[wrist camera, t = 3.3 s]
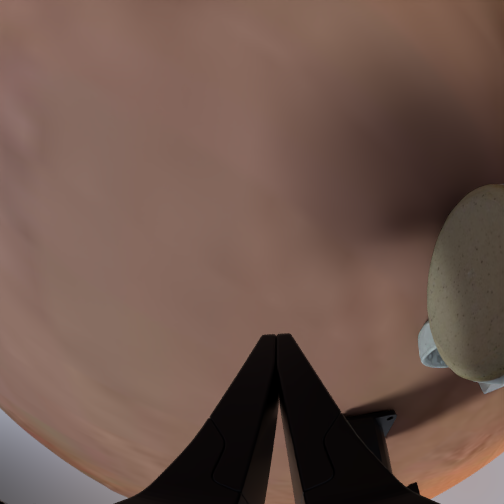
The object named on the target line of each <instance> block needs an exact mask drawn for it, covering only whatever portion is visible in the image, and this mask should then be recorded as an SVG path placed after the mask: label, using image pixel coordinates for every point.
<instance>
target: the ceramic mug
mask: <svg viewBox="0 0 504 504" xmlns="http://www.w3.org/2000/svg"><path fill="white" fill-rule="evenodd" d="M427 311H428V318H429V320H428V321H427V322H426V323H425V324H424V326H423V328H422V329H421V330H420V332H419V335H418V347H419V355H420V358H421V362H422V363H423V364H424V365H425V366H429V367H433V368H435V367H436V368H447V367H449V368H450V369H451V370H452V371H453V372H454V373H456V374H457V375H459V376H460V377H462V378H465V379H468V380H471V381H474V382H481V383H489V384H504V184H488V185H485V186H482V187H479V188H477V189H475V190H473V191H471V192H470V193H468V194H467V195H466V196H465V197H464V198H463V199H462V200H461V201H460V202H459V203H458V204H457V205H456V206H455V207H454V209H453V210H452V211H451V213H450V214H449V216H448V217H447V219H446V221H445V223H444V225H443V228H442V230H441V232H440V234H439V236H438V239H437V241H436V244H435V248H434V252H433V256H432V259H431V263H430V269H429V275H428V286H427Z"/></svg>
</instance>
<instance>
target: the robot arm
mask: <svg viewBox="0 0 504 504" xmlns="http://www.w3.org/2000/svg"><path fill="white" fill-rule="evenodd" d="M279 402H280V410H281V416H282V423H283V429H284V435H285V441H286V448H287V454H288V460H289V467H290V473H291V479H292V485H293V492H294V498H295V504H440V503H437V502H435V501H432V500H430V499H428V498H426V497H423V496H421V495H420V493H419V489H418V485H417V482H415V483H412V484H410V485H408V486H407V487H406V486H404V485H403V484H402V483H401V482H400V481H399V480H398V479H397V478H396V477H395V476H394V475H393V474H392V469H391V464H390V459H389V454H388V449H387V444H386V440H385V437H386V435H387V433H388V432H389V430H390V428H391V426H392V424H393V423H394V421H395V419H396V417H397V415H396V412H395V411H394V410H390V411H385V412H380V413H374V414H368V415H362V416H355V417H348V418H345V417H344V415H343V414H342V413H341V411H340V409H339V408H338V406H337V405H336V403H335V401H334V400H333V398H332V397H331V395H330V394H329V392H328V391H327V389H326V388H325V386H324V385H323V383H322V382H321V380H320V378H319V377H318V375H317V374H316V372H315V371H314V369H313V368H312V366H311V365H310V363H309V361H308V360H307V358H306V357H305V355H304V354H303V352H302V351H301V349H300V347H299V346H298V344H297V343H296V341H295V340H294V338H293V337H292V335H291V334H289V333H286V334H278V335H277V336H276V335H275V334H269V335H262V336H261V338H260V339H259V341H258V343H257V344H256V346H255V347H254V349H253V351H252V352H251V354H250V355H249V357H248V359H247V360H246V362H245V363H244V365H243V366H242V368H241V370H240V371H239V373H238V374H237V376H236V377H235V379H234V380H233V382H232V384H231V385H230V387H229V388H228V390H227V391H226V393H225V394H224V396H223V397H222V399H221V400H220V402H219V403H218V405H217V406H216V408H215V409H214V411H213V412H212V414H211V415H210V418H208V419H207V421H206V422H205V424H204V425H203V427H202V428H201V430H200V431H199V432H198V434H197V435H196V436H195V438H194V439H193V440H192V441H191V443H190V444H189V445H188V446H187V447H186V448H185V449H184V451H183V452H182V453H181V454H180V455H179V456H178V457H177V458H176V459H175V460H174V461H173V462H172V463H171V464H170V465H169V467H168V468H167V469H166V470H165V471H164V472H163V473H162V474H161V475H160V476H159V477H158V478H157V479H156V480H155V481H154V482H153V483H152V484H150V485H149V486H148V487H147V488H146V489H144V490H143V491H142V492H140V493H138V494H137V495H135V496H133V497H130V498H128V499H125V500H123V501H120V502H117V503H115V504H264V503H265V497H266V491H267V485H268V479H269V472H270V466H271V459H272V452H273V445H274V438H275V430H276V423H277V415H278V406H279ZM0 504H7V503H5V502H3V501H2V500H0Z"/></svg>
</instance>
